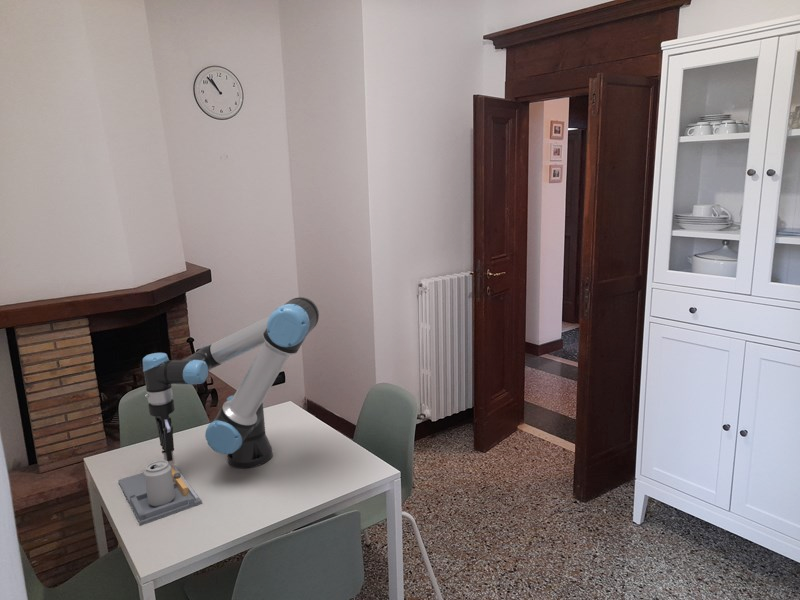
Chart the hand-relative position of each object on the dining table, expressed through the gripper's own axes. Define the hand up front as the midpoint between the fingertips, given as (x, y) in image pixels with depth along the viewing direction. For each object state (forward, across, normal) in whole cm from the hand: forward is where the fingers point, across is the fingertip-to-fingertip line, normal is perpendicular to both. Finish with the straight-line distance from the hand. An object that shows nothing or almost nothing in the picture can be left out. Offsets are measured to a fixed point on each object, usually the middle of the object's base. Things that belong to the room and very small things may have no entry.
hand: (170, 468), depth 187 cm
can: (+2, +16, -7) cm, 18 cm away
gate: (+2, +9, 0) cm, 9 cm away
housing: (+3, +9, -6) cm, 11 cm away
